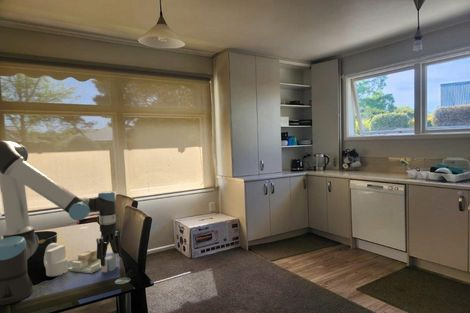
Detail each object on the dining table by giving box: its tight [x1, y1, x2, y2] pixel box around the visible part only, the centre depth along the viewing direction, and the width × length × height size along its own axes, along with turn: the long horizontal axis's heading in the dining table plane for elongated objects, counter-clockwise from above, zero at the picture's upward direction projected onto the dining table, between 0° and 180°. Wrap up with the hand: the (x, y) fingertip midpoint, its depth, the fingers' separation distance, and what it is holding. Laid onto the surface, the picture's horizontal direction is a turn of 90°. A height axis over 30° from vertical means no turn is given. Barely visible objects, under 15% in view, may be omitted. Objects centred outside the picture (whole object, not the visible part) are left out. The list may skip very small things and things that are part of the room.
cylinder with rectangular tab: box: [45, 244, 68, 277], centre depth 147 cm, size 9×9×12 cm
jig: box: [67, 259, 102, 274], centre depth 155 cm, size 18×15×4 cm
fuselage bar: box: [77, 248, 97, 264], centre depth 157 cm, size 10×4×5 cm, turn 163°
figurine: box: [43, 242, 60, 269], centre depth 156 cm, size 7×8×12 cm
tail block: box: [106, 255, 117, 272], centre depth 148 cm, size 4×4×6 cm
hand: (109, 268), depth 148 cm, fingers open, 6 cm apart
